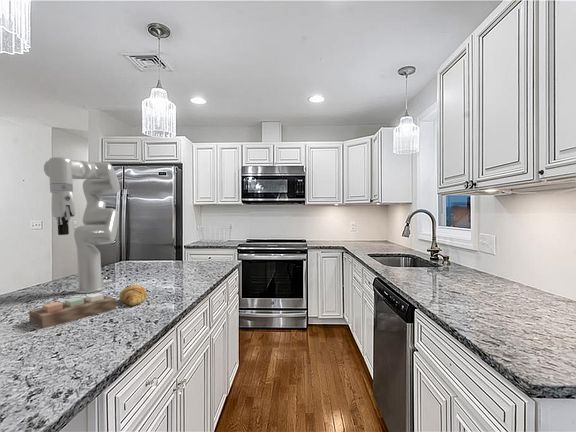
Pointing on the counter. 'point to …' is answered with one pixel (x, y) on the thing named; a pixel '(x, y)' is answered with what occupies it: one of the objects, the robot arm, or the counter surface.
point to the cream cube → (94, 297)
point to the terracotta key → (52, 307)
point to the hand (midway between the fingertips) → (63, 234)
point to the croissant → (133, 295)
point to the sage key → (74, 302)
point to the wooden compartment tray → (71, 312)
